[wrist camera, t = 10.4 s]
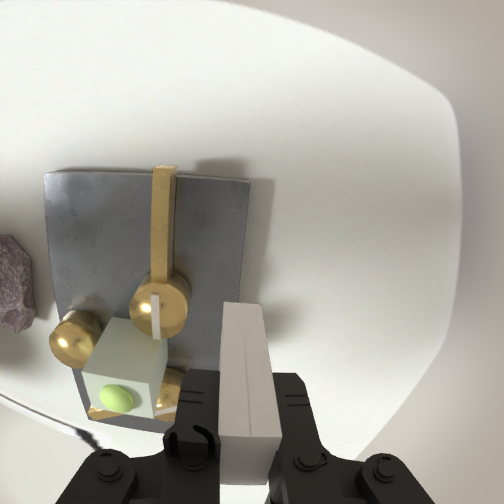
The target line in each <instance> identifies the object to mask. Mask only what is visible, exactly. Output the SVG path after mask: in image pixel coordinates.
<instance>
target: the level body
mask: <svg viewBox="0 0 504 504" xmlns="http://www.w3.org/2000/svg"><path fill="white" fill-rule="evenodd" d="M167 360H168V347H167V338H163V339H161V340H156V339H153V337H150V336H148V335H146V334H144V333H143V332H141V331H140V330H139V329H138V328H137V327H136V326H135V325H134V323H133V322H132V320H131V319H124V318H117V317H112V318H111V320H110V321H109V323H108V325H107V327H106V328H105V330H104V332H103V333H102V335H101V337H100V339H99V340H98V342H97V344H96V346H95V348H94V349H93V351H92V353H91V355H90V356H89V358H88V360H87V362H86V364H85V366H84V367H83V369H82V371H81V372H82V376H83V379H84V383H85V386H86V390H87V393H88V396H89V399H90V402H91V406H92V407H93V408H97V409H102V410H107V411H112V412H117V413H122V414H128V415H133V416H139V417H146V418H152V419H154V415H155V410H156V406H157V402H158V397H159V393H160V389H161V385H162V380H163V376H164V372H165V368H166V364H167Z"/></svg>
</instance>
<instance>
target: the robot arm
mask: <svg viewBox="0 0 504 504" xmlns="http://www.w3.org/2000/svg"><path fill="white" fill-rule="evenodd" d="M163 444H164V450H163V451H161V452H159V453H157V454H155V455H151V456H145V457H135V458H129V457H128V456H127V455H125V454H124V453H122V452H121V451H117V450H113V449H100V450H98V451H95V452H93V453H91V454H90V455H89V456H88V457H87V458H86V459H85V461H84V462H83V464H82V465H81V467H80V468H79V470H78V471H77V472H76V474H75V475H74V477H73V478H72V480H71V481H70V483H69V484H68V486H67V487H66V489H65V490H64V491H63V493H62V494H61V496H60V498H59V499H58V500H57V502H56V503H55V504H220V484H226V485H266V484H267V481H269V490H270V491H269V494H268V496H267V499H266V501H265V504H435V503H434V502H433V501H432V499H431V498H430V497H429V495H428V494H427V493H426V491H425V490H424V489H423V487H422V486H421V485H420V484H419V482H418V481H417V480H416V478H415V477H414V476H413V474H412V473H411V472H410V471H409V469H408V468H407V467H406V465H405V464H404V463H403V462H402V461H401V460H400V459H399V458H397V457H396V456H393V455H391V454H385V453H380V454H375V455H372V456H371V457H369V458H368V459H367V460H366V461H365V462H360V461H353V460H347V459H342V458H338V457H336V456H334V455H332V454H330V452H329V451H328V450H327V449H325V448H324V447H323V446H322V444H321V441H320V439H319V435H318V431H317V427H316V423H315V420H314V416H313V412H312V409H311V406H310V401H309V397H308V394H307V390H306V386H305V383H304V382H303V381H302V379H301V378H300V377H299V376H298V375H297V374H296V373H272V369H271V363H270V357H269V351H268V344H267V338H266V332H265V326H264V319H263V313H262V307H261V304H248V303H234V302H224V307H223V319H222V333H221V346H220V363H219V371H216V370H204V369H193V368H190V369H189V370H188V371H187V373H186V374H185V375H184V376H183V377H182V381H181V386H180V392H179V398H178V403H177V409H176V415H175V421H174V425H172V426H171V427H170V428H169V429H167V430H166V432H165V434H164V436H163Z"/></svg>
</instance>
